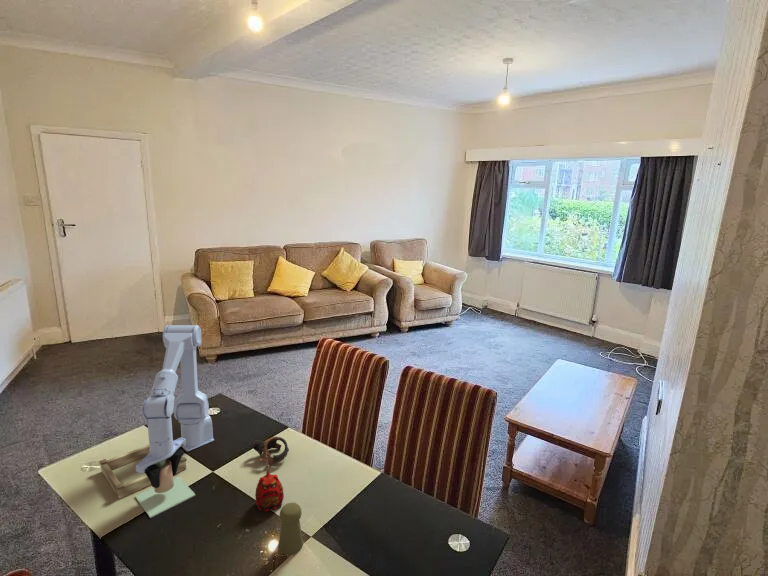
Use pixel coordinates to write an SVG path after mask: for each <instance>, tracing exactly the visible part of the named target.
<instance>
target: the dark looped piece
mask: <svg viewBox="0 0 768 576" xmlns="http://www.w3.org/2000/svg"><path fill="white" fill-rule="evenodd" d="M278 441H280V442H282V443H283V445H284V450H283V452H281V453H280V454H273V455H272V456H271V453H270V452H269V450H271V449H276V450H281V447H282V444H280V443H278ZM251 446H252V449H253V450H255V452H257V453H258V454H259V456H260V457H261V456H262V454H263V455H264V457H265V456H266V453H265V452H267V457H269V458H268V465H269V467H273V465H276V464H279V463H281V462H282V461H284V459H285V458H286V457H287V456H288V453H289V451H290V450H289V449H290V448H289V447H288V443H287V440H286V439H284V438H283V437H281V436H273V437H270V438H268V439H266V440H259V439H258V440H257V439H256V440H254V441H253V443H252V444H251Z"/></svg>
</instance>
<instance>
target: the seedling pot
mask: <svg viewBox="0 0 768 576" xmlns="http://www.w3.org/2000/svg"><path fill="white" fill-rule="evenodd" d="M156 465H157V466H158V467H160V468H161V471H160V477H159V480H160V486H159V487H158V488H155V487H153V488H154V491H155V492H156V493H164V492H167V491H169V490H170V489H172V488H173V486H174V480H173V479H174V476H173V472H172V464H171V461H170V460H166V459H165V460H162V461H160V462H157V463H156Z"/></svg>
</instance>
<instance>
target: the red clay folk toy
mask: <svg viewBox="0 0 768 576" xmlns="http://www.w3.org/2000/svg"><path fill="white" fill-rule="evenodd" d="M265 453H266V456H265V455H264V458H261V457H260V458H259V459H258V462H259V463H261V462H264V461H265V462H266V463H265V464H266V474H265V475H263V476H261V477H259V480H258V482H257V484H256V488H255V493H254V494H255V505H256V506H257V509H258V510H259V511H263V512H266V513H267V512H269V511H271V510H274V511H275V510H277V509H278V508H280V507H281V508H282V505H283V501H284V497H285V494H284V486H283V485H282V483H281V481H280V479H279V477H278V475H277V474H271V473H270V472H271V471H270V469H269V468H270V466H269V465H268V458H269V457H267V452H265Z"/></svg>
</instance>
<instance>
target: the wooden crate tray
mask: <svg viewBox="0 0 768 576" xmlns="http://www.w3.org/2000/svg"><path fill="white" fill-rule="evenodd" d="M149 449H150V446H149V444H147V445H144V446H141V447H139V448H136V449H133V450H130V451H127V452H126V453H122V454H120V455H118V456H115V457H112V458H110V459H106V458H103V459H102V460H99V464H100V470H101V473H102V474H103V476H104V478H105V479H106V480H107V482H108V483H109V485H110V486H111V488H112V489H113V491H114V493H115V494H116V495H117V497H118V498H119V499H122V498H125V497H127V496H129V495H132V494H133V493H134V494H135V493H136V492H138V491H140V490H143V489H144V488H147V487H149V486H152V485H151V483H150V480H149V478H148V477H147V475H146V474H145V475H143V476H141V477H139V478H136V479H133V480H132V481H129V482H126V483H123V482H120V480H119V478H118V477H117V476H116V475H115V473H114V471H113V470H115V469H117V468H119V467H120V468H121V467H122V466H125V465H127V464H130V463H132V462H135V461H137V460H140V459H142V458H143V459H144V458H145V457H146V456H147V455H148V454H149V453H150V452H149ZM186 469H187V458H186V457H185V456H182V457H181V459H180V462H179V465H178V468H177V473H176V474H178V473H181V472H183V471H185V470H186Z"/></svg>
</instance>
